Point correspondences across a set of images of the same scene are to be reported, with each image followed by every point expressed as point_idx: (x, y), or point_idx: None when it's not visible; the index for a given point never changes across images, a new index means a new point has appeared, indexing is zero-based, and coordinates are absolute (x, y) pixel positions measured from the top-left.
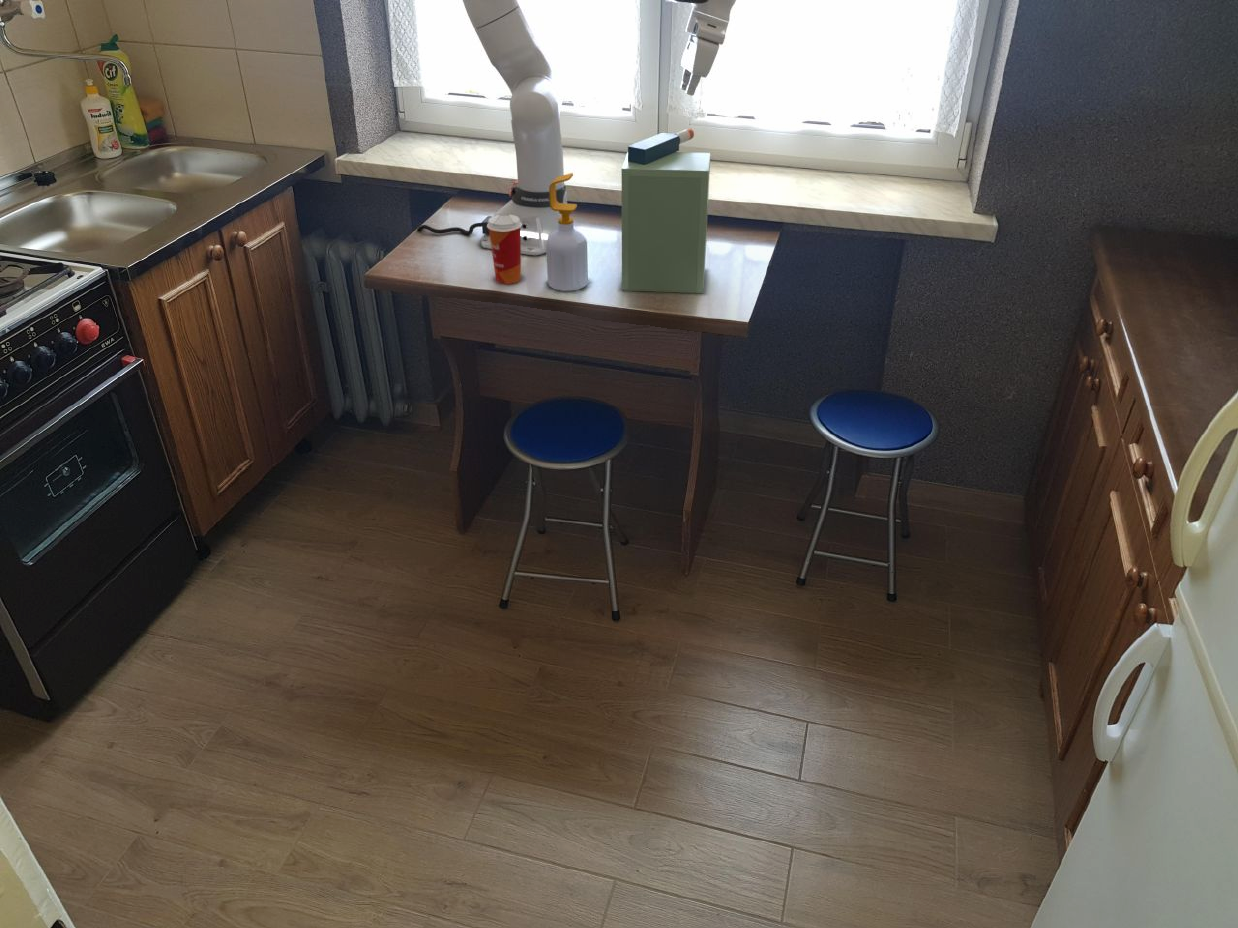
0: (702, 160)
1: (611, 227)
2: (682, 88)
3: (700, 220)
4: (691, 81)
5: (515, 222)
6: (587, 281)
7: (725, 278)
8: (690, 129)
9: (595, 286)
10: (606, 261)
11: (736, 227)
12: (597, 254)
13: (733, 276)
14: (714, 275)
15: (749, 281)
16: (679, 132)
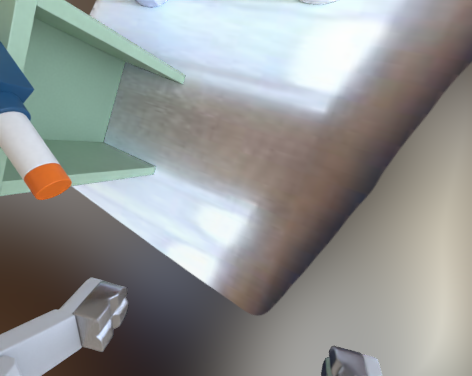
0: None
1: (359, 88)
2: (332, 354)
3: None
4: (11, 338)
5: None
6: (140, 3)
7: (128, 189)
8: (31, 191)
9: (140, 17)
10: (215, 49)
11: (288, 283)
12: (245, 39)
13: (131, 201)
14: (138, 180)
15: (115, 212)
16: (3, 142)
